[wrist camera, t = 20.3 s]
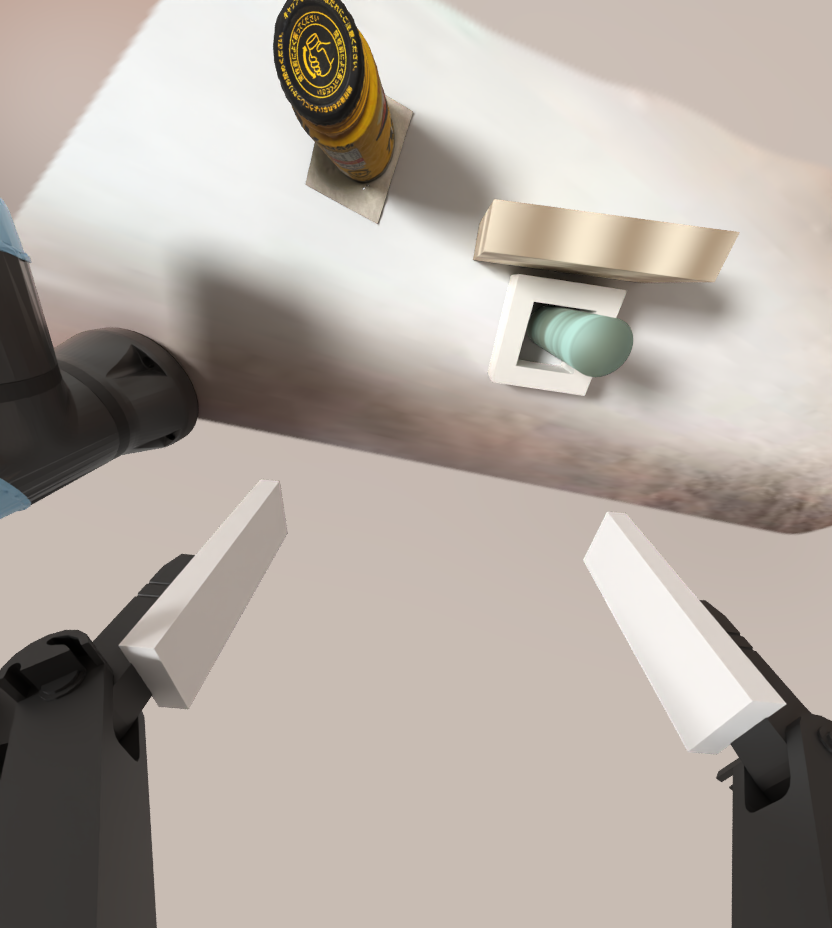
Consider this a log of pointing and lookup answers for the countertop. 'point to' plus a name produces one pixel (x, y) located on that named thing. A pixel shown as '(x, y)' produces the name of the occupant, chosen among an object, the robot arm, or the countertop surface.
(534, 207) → the wall
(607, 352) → the dowel
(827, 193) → the countertop surface
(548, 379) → the socket block
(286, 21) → the condiment
